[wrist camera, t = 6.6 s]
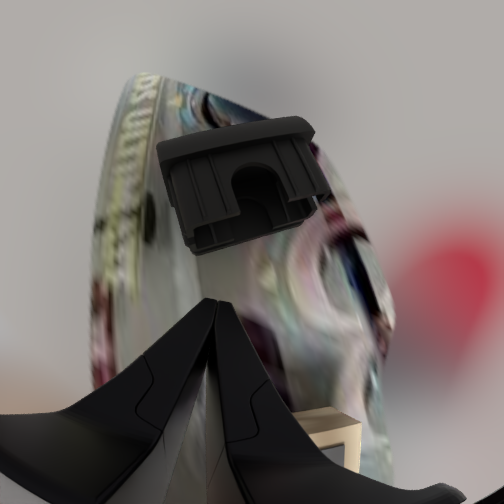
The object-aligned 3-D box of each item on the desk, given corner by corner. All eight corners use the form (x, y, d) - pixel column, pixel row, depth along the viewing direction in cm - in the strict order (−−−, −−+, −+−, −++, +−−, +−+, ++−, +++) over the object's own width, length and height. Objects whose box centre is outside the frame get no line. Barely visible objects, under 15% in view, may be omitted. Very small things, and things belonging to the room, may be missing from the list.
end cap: (277, 152, 24) (297, 98, 17) (309, 223, 22) (344, 181, 16) (164, 179, 22) (151, 124, 15) (186, 260, 20) (174, 225, 14)
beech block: (267, 471, 16) (283, 504, 11) (265, 415, 18) (281, 440, 13) (329, 459, 17) (358, 486, 12) (330, 406, 18) (363, 423, 13)
